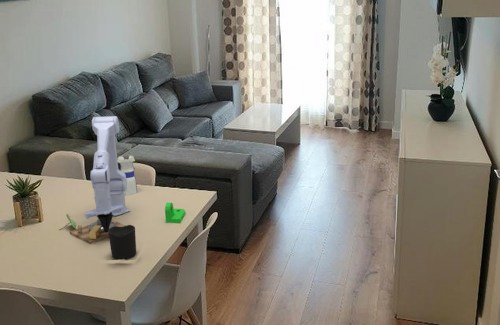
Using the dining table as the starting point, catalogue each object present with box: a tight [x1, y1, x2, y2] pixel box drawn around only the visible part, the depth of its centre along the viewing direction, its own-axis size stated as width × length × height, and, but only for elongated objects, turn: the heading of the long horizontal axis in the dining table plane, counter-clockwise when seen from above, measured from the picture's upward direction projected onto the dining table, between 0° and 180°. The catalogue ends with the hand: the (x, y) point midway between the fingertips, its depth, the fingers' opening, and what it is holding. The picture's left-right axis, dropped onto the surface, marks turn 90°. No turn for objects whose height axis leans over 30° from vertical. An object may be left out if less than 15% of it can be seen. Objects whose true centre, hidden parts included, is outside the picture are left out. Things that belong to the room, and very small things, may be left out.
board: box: [69, 219, 127, 245], centre depth 221 cm, size 15×18×4 cm
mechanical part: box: [164, 202, 186, 224], centre depth 233 cm, size 12×6×8 cm, turn 173°
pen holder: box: [108, 224, 137, 261], centre depth 199 cm, size 9×9×10 cm
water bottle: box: [117, 142, 138, 196], centre depth 259 cm, size 8×9×25 cm
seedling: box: [59, 213, 78, 231], centre depth 224 cm, size 7×8×6 cm
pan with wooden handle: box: [88, 219, 114, 239], centre depth 219 cm, size 16×10×3 cm, turn 177°
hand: (106, 231), depth 215 cm, fingers closed
